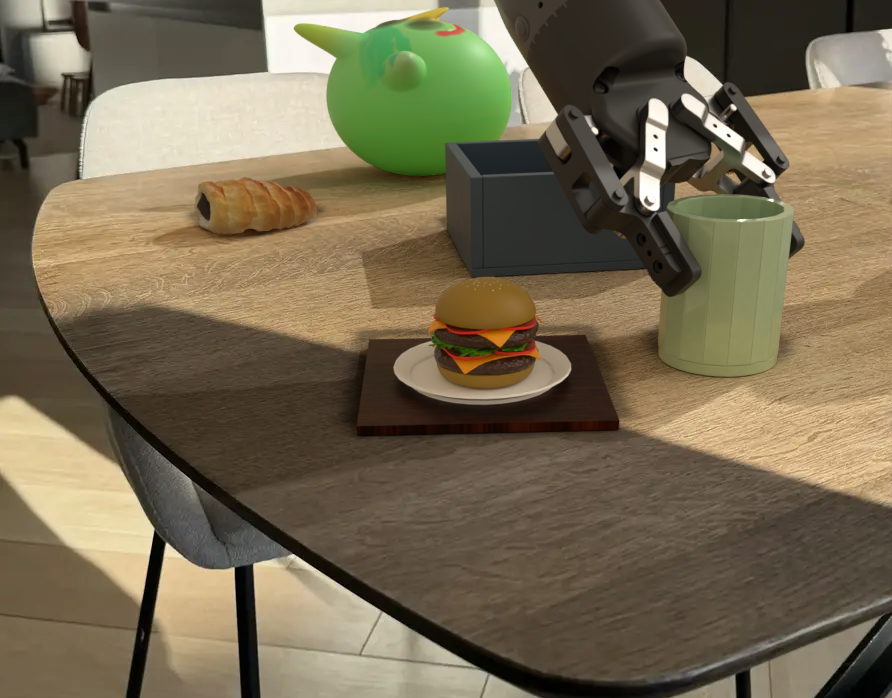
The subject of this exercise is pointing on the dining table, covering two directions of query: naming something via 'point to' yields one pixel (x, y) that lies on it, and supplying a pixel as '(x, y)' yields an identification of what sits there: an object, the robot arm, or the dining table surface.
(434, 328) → the hamburger
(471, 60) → the toy bird
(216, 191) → the pastry
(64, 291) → the dining table surface
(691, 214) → the tub
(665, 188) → the bin
